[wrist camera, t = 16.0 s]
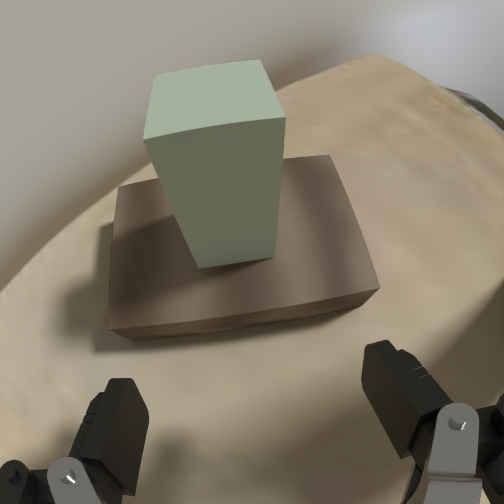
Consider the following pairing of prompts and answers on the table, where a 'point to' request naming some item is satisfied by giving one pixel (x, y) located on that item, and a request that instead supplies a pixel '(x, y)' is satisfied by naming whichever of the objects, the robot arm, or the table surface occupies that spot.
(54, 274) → the table surface
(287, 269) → the walnut base
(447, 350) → the table surface
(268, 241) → the sage block
